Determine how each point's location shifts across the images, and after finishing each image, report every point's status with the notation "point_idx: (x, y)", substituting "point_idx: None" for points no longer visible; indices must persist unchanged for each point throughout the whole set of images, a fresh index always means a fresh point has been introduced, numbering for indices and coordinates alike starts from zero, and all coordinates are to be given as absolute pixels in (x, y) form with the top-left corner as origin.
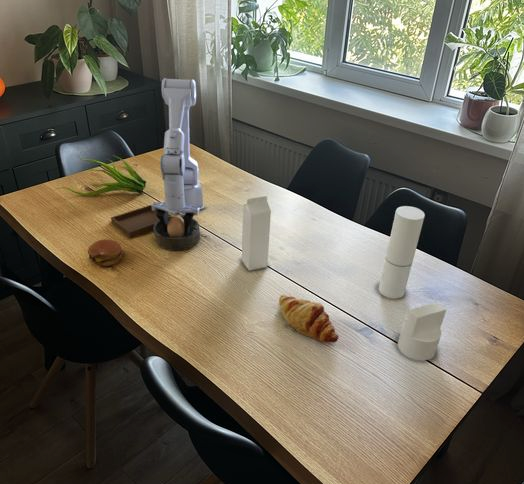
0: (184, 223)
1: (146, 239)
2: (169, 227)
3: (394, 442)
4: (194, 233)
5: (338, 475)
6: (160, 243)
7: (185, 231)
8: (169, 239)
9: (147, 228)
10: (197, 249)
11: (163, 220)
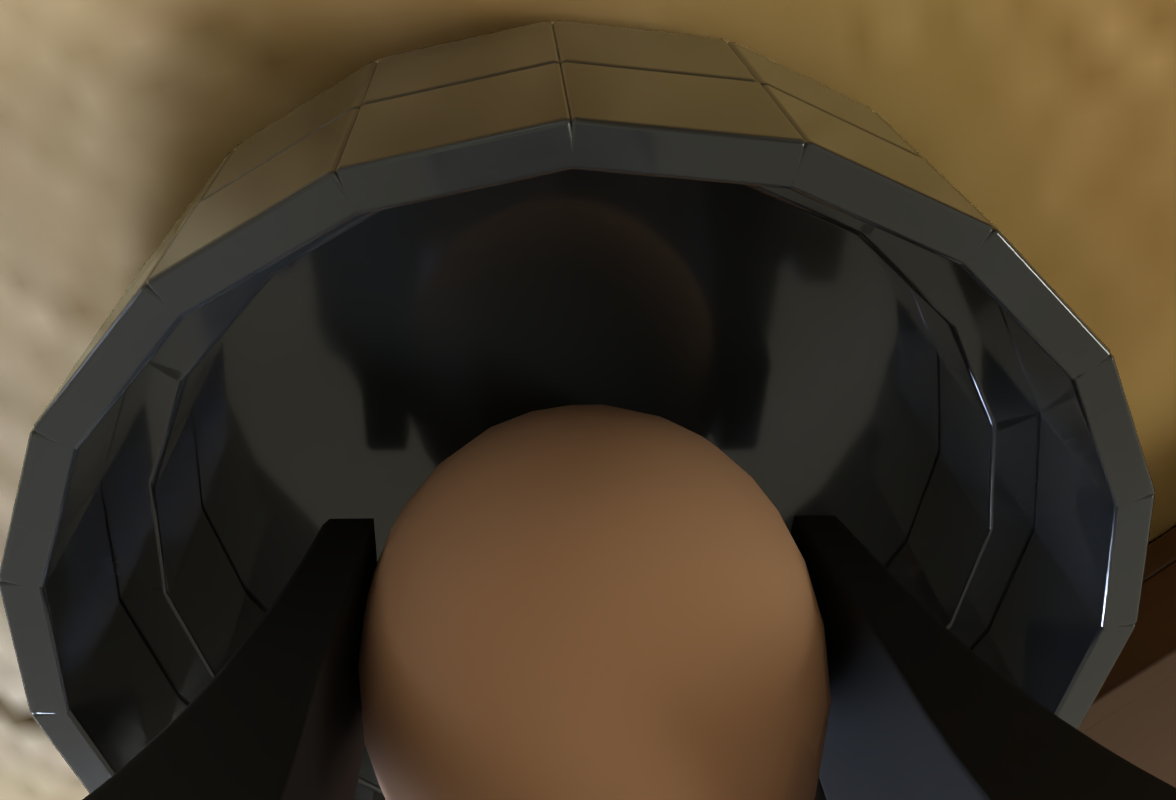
0: (293, 750)
1: (1157, 346)
2: (751, 578)
3: None
4: (24, 511)
5: None
6: (882, 128)
7: (341, 569)
8: (646, 116)
9: (1172, 603)
10: (25, 201)
11: (979, 746)
